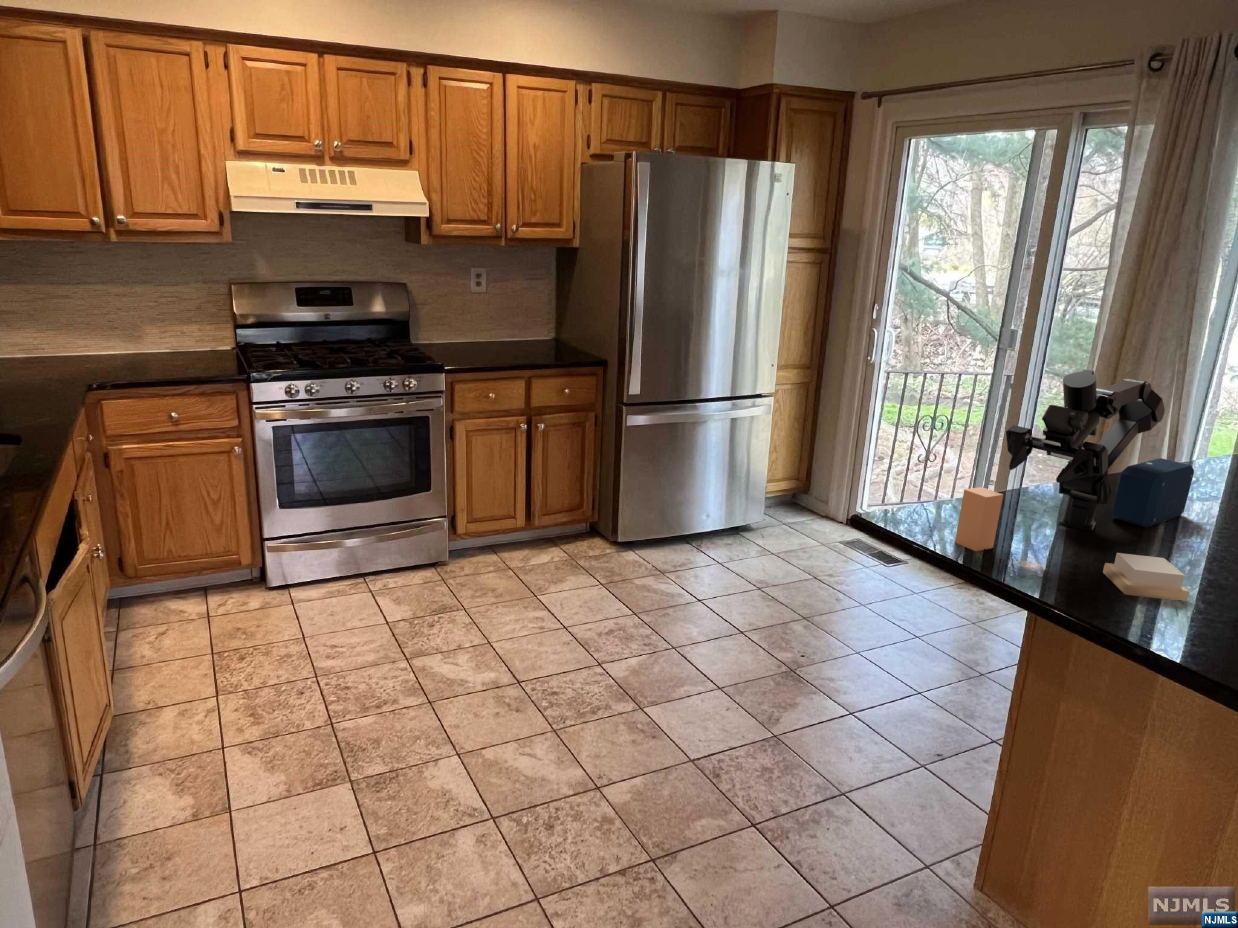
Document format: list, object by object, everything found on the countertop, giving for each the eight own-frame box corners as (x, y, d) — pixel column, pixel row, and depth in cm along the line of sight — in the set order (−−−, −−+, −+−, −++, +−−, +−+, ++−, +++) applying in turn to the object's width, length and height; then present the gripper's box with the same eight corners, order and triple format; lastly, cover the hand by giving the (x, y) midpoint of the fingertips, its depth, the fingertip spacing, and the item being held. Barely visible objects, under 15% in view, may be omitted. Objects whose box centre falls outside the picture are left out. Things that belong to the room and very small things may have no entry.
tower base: (1102, 575, 157) (1105, 562, 156) (1159, 581, 155) (1163, 569, 155) (1124, 597, 147) (1127, 584, 146) (1185, 604, 146) (1189, 591, 145)
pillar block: (971, 539, 170) (981, 486, 167) (992, 547, 165) (1003, 494, 162) (954, 542, 167) (964, 489, 164) (975, 551, 163) (986, 497, 160)
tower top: (1113, 565, 155) (1116, 552, 154) (1160, 570, 154) (1164, 557, 153) (1131, 582, 147) (1135, 569, 147) (1181, 588, 146) (1184, 575, 146)
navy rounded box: (1145, 505, 200) (1166, 423, 195) (1186, 516, 194) (1208, 431, 188) (1103, 518, 188) (1124, 431, 183) (1145, 531, 181) (1168, 441, 176)
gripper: (1025, 387, 171) (983, 430, 165) (1123, 405, 158) (1081, 453, 151) (1028, 431, 177) (988, 473, 171) (1123, 452, 164) (1083, 500, 157)
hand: (1033, 474), depth 163 cm, fingers open, 9 cm apart
